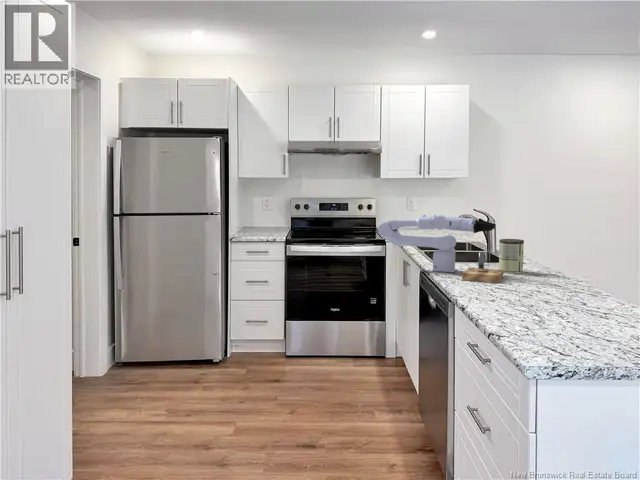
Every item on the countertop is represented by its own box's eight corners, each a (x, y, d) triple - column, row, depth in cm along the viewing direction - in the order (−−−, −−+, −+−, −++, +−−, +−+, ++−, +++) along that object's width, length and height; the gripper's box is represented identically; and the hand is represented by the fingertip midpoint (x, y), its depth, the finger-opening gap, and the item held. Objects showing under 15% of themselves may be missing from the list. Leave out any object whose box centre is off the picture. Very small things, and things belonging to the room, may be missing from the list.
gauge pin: (477, 273, 241) (478, 252, 240) (478, 272, 244) (479, 252, 243) (483, 273, 240) (484, 253, 239) (484, 273, 242) (484, 252, 242)
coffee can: (496, 269, 252) (497, 238, 250) (519, 270, 251) (520, 238, 249) (501, 273, 242) (502, 241, 240) (525, 273, 241) (526, 241, 239)
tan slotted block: (462, 280, 226) (462, 272, 225) (468, 274, 238) (469, 267, 238) (498, 282, 220) (498, 275, 219) (503, 277, 232) (503, 270, 232)
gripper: (458, 216, 236) (491, 218, 231) (465, 214, 249) (496, 216, 244) (457, 232, 237) (490, 235, 232) (464, 229, 250) (495, 232, 245)
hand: (493, 227), depth 238 cm, fingers open, 7 cm apart
